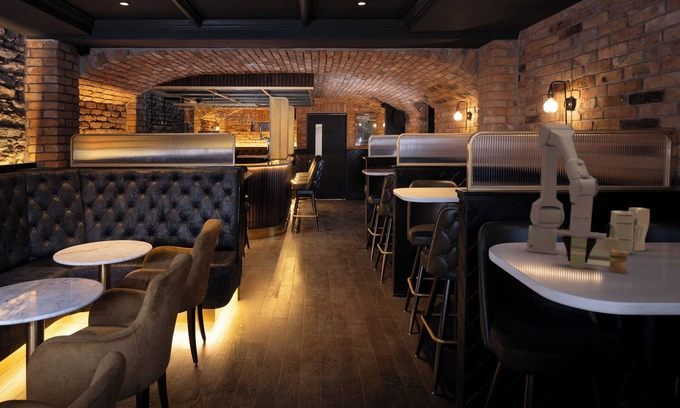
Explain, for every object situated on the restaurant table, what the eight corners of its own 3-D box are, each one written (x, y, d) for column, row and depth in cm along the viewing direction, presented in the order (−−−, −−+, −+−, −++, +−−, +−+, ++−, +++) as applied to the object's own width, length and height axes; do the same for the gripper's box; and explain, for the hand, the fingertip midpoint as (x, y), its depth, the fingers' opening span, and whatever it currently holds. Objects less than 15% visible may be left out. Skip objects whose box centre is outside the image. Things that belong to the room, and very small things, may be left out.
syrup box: (631, 254, 174) (634, 213, 172) (612, 253, 175) (616, 212, 174) (625, 251, 180) (628, 210, 178) (607, 250, 181) (610, 210, 179)
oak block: (610, 271, 150) (611, 251, 149) (609, 268, 153) (610, 249, 153) (625, 273, 148) (627, 253, 147) (624, 270, 152) (626, 250, 151)
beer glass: (634, 246, 188) (638, 207, 186) (651, 250, 181) (655, 209, 179) (619, 247, 186) (623, 207, 184) (636, 251, 179) (640, 210, 177)
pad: (576, 264, 158) (576, 262, 158) (576, 259, 165) (576, 258, 165) (612, 267, 154) (612, 266, 154) (610, 263, 161) (610, 261, 161)
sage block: (569, 267, 154) (571, 247, 153) (569, 264, 158) (571, 245, 157) (584, 268, 152) (586, 249, 152) (584, 265, 156) (585, 246, 155)
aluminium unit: (566, 256, 169) (567, 236, 168) (566, 253, 173) (567, 233, 172) (620, 262, 162) (622, 240, 161) (619, 259, 167) (621, 238, 166)
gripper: (554, 217, 153) (551, 261, 154) (608, 221, 147) (604, 266, 148) (555, 214, 159) (552, 256, 161) (606, 218, 153) (603, 261, 155)
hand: (577, 261), depth 155 cm, fingers closed on sage block, 4 cm apart
